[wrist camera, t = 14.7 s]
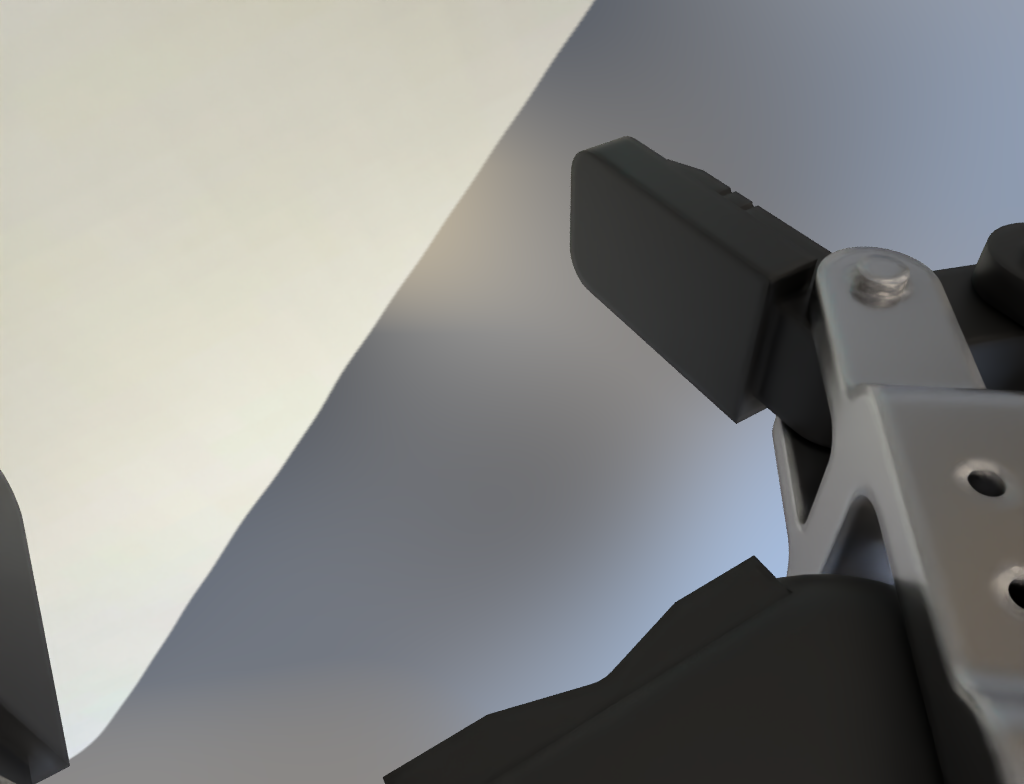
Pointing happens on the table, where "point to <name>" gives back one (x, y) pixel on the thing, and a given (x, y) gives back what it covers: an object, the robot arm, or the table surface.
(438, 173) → the table surface
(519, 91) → the table surface
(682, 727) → the robot arm
